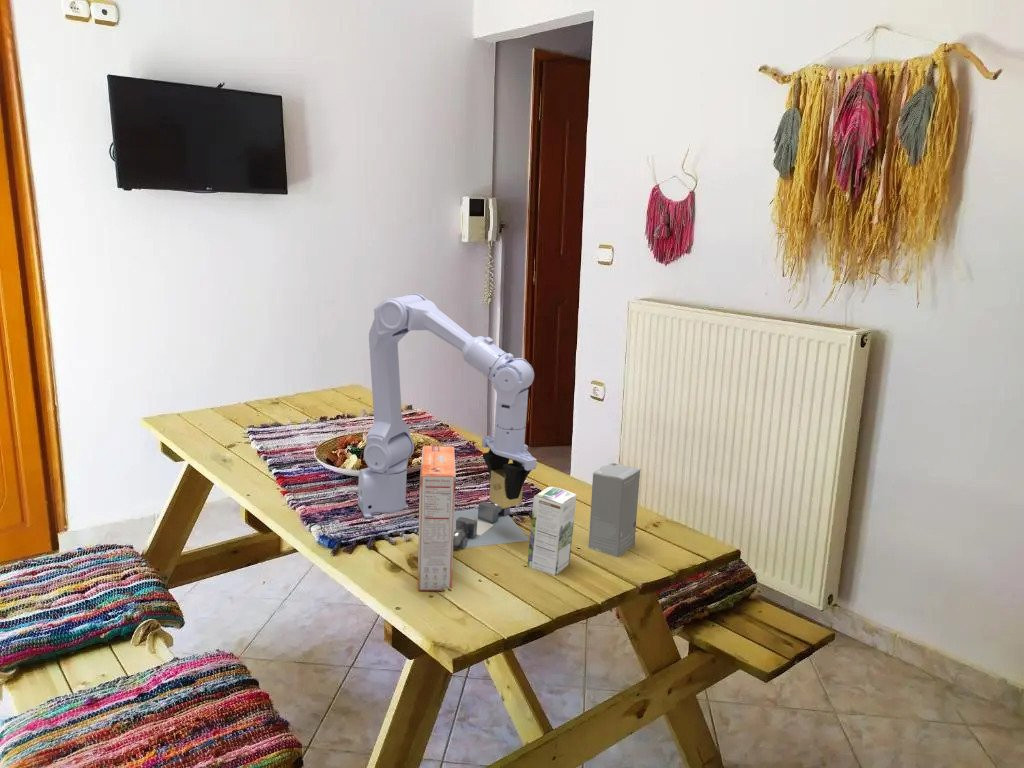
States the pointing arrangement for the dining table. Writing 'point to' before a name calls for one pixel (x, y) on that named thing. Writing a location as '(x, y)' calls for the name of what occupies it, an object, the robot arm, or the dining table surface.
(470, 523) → the shaft
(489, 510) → the shaft
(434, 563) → the cracker box
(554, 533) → the syrup box
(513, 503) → the tan block
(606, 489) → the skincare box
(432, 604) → the dining table surface
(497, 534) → the board
